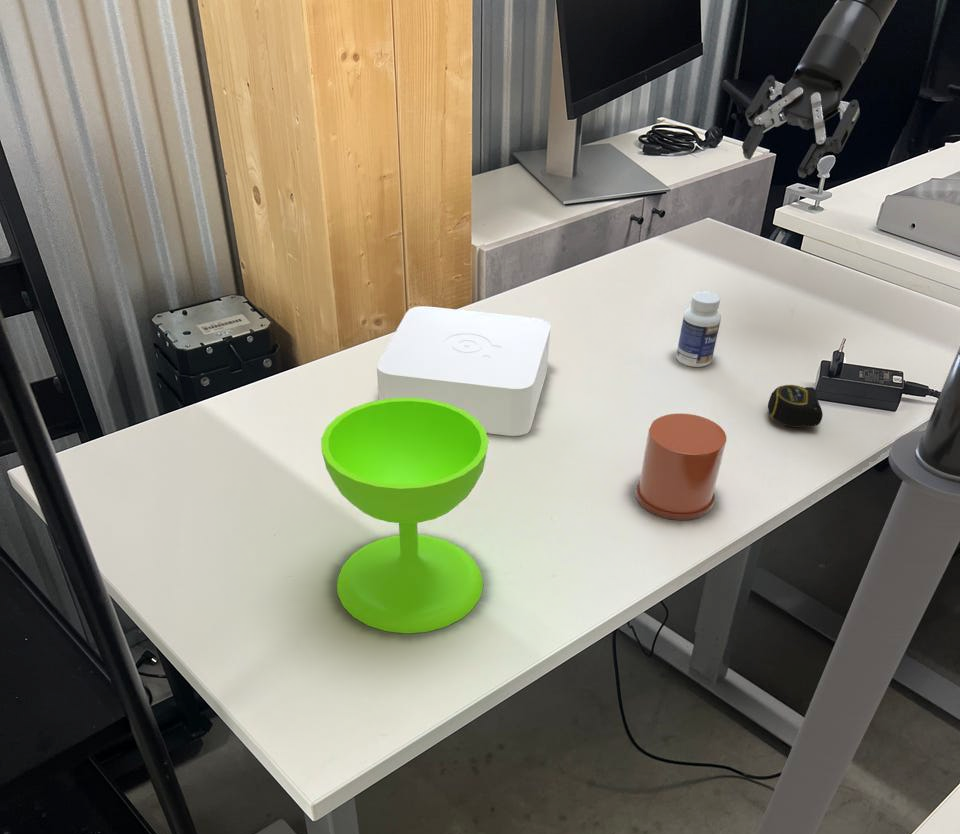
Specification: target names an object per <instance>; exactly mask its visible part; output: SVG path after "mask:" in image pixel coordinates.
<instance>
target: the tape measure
mask: <svg viewBox="0 0 960 834" xmlns="http://www.w3.org/2000/svg"><path fill="white" fill-rule="evenodd" d="M767 411H768V414H769V416H770V417H771V418H772V420H774V421H776V422H777V423H778V424H781V425H783V426H787V427H790V428H791V427H792V428H801V427H816V426H819V425H820V424H821V422H822V419H823V409H822V406H821V405H820V402H819V397H818V393H817V390H816V389H815V388H814V387H812V386H811V387H810V386H806V387H803V386H800V385H795V384H784V385H780V386H777V387H776V388H775V389H774V390H773V391H772V393H771V394H770V396H769V399H768V403H767Z"/></svg>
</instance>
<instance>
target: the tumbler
mask: <svg viewBox="0 0 960 834" xmlns="http://www.w3.org/2000/svg"><path fill="white" fill-rule="evenodd" d="M727 440H728V439H727V434H726V432H725V430H724V429H723V427H722V426H721V425H720V424H718V423H716V422H715V421H713V420H711V419H709V418H706V417H704V416H700V415H696V414H692V413H680V412H679V413H669V414H664V415H662V416H659V417H657V418H656V419H655V420H653V421H652V422H651V423H650V425H649V427H648V431H647V439H646V443H645V449H644V456H643V460H642V464H641V465H642V466H641V472H640V476H639V477H640V478H639V480H638V481H637V483H636V487H635V498H636V500H637V501H638V504H639V505H640V506H641V507H642V508H643V509H644V510H646V511H647V512H649V513H651V514H653V515H655V516H657V517H660V518H663V519H668V520H674V521H688V520H689V521H690V520H694V519H699V518H701V517H703V516H705V515H707V514H708V513H709V512H711V510H712V509H713V506H714V503H715V498H716V494H715V489H716V485H717V482H718V481H717V480H718V476H719V473H720V470H721V469H720V468H721V465H722V459H723V456H724V452H725V447H726V443H727Z"/></svg>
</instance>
